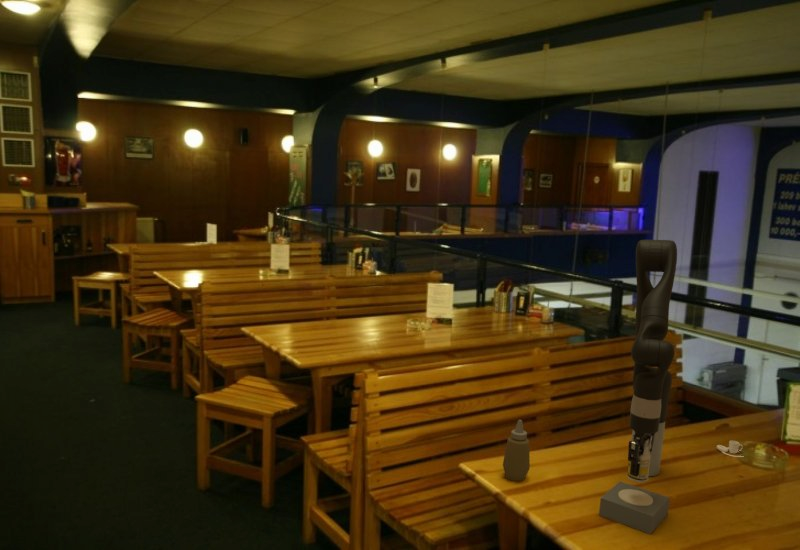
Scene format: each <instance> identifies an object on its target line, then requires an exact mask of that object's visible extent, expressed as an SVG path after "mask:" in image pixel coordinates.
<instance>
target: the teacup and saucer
mask: <svg viewBox="0 0 800 550" xmlns="http://www.w3.org/2000/svg"><path fill="white" fill-rule="evenodd" d="M740 446H741V448H740V449H739V447H740ZM743 446H744V445H742V444H740V442H739V441H737V440H734V439H733V440H729V441H728V446H727V447H726V446H724V445H721V444H718V445H716V449H717V450H718V451H720V452H721V453H723V454H724V455H726V456H730V457H734V458H745V457H744V456H741V455H735V454H737V453H740V452H739V451H742V450H743V449H744V448H743ZM738 450H739V451H738ZM728 451H729V453H731V454H729V453H728ZM733 454H734V455H733Z"/></svg>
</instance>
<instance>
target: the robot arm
mask: <svg viewBox="0 0 800 550" xmlns="http://www.w3.org/2000/svg"><path fill="white" fill-rule="evenodd" d="M677 263H678V247H677V243H676V242H675V241H674V240H670V239H640V240H639V241H638V242H637V244H636V247H635V274H636V277H635V278H636V304H635V305H636V306H635V340H634V343H633V344H632V346H631V351H630V354H631V355H630V356H631V359H632V360H633V363H634V364H633V365H634V366H633V372H632V389H633V395H632V399H631V406H630V413H629V419H628V420H629V422H628V426H629V428H630V429H631V430H632V432H631V440H628V441H629V442H628V451H627V454H628V455H627V461H628V462H629V461H631V467H630V474H631V475H633V476H636V477H637V476H638V475H639V470H640V463H641V458H642V456H643V455H644V454H645V450H646V446H647V445H649V450H648V452H649V454H650V466H649V476H648V477H655V476H658V475H659V474H660V467H661V460H662V452H663V443H664V436H665V427H666V419H667V412H668V407H669V401H670V394H671V389H672V385H673V384H672V383H673V376H672V373H671V372H670V371H669V369H670V367H671V365H672V363H673V361H674V358H675V348H674V346H673V344H672V343H671V342H670V341H669V340H668V341H667V340H665V338H666V336H667V335H668V332H669V317H670V315H669V313H670V301H671V296H672V293H673V288H674V282H675V275H676V270H677V269H676V268H677ZM649 272H651V273H652V272H653V273H655V272H656V273H663V274H662V276H661V278H660V280H659V281H658V283H656V285H655V286H653V284H652V282H651V279H650V276H649ZM639 450H642V451H641V452H640V451H639ZM634 455H635V456H636V458H634Z"/></svg>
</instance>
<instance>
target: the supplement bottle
mask: <svg viewBox="0 0 800 550" xmlns="http://www.w3.org/2000/svg"><path fill="white" fill-rule="evenodd" d="M648 450H649V445H647V446H646V450H645V454H644V455H643V456H642V458H641V463H640V470H639V475H638V476H637V477H636V476H633V475H631V474H630V467H631V461H628V463H627V474H626V475H627V478H628V479H629V480H631V481H632V482H636V483H645V482H647V481H649V477H650V476H649V466H650V454H649V452H648ZM639 451H640V452H641V451H642V450H639ZM634 458H636V456H635V455H634Z"/></svg>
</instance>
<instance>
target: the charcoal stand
mask: <svg viewBox="0 0 800 550" xmlns="http://www.w3.org/2000/svg"><path fill="white" fill-rule="evenodd" d="M670 500H671V497H669V496H665V495H663V494H661V493H657V492H654V491H651V490H647V489H644V488H641V487H639V486H635V485H633V484H630V483H626V482H624V481H621V480H620V481H618V482H617V483H616V484H614V486H612V488H611V489H609V490H608V491H607V492H606V493H604V495H603V496H602V497H600V503H599V512H598V515H599V516H601V517H603V518H606V519H608V520H611V521H614V522H616V523H619V524H621V525H625V526H627V527H629V528H633V529H635V530H638V531H641V532H643V533H646V534H649V535H652V534H653V532H654V531H655V530H656V529H657V528H658V526H659V525H660V524H661V523H662V522H663V521H664V519H666V517H667V516H668V514H669V509H670V508H669V507H670Z"/></svg>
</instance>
